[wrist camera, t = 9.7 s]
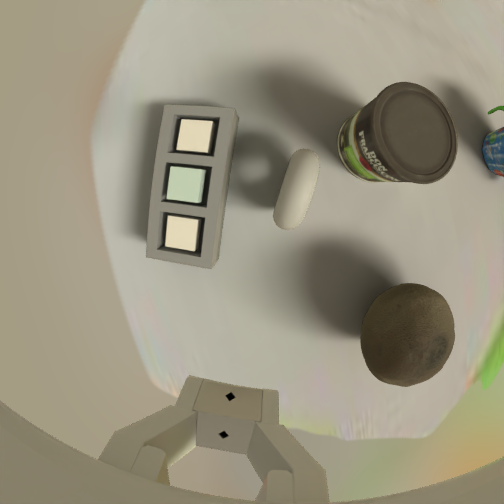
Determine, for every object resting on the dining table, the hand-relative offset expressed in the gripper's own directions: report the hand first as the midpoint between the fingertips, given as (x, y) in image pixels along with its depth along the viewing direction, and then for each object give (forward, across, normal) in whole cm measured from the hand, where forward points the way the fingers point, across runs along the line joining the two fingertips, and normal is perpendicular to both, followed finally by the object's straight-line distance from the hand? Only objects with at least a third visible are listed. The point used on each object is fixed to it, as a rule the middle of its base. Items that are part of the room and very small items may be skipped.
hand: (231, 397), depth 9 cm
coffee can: (+31, -13, -15) cm, 37 cm away
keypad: (+31, +10, -6) cm, 33 cm away
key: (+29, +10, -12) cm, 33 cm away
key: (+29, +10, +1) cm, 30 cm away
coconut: (+31, -22, +8) cm, 39 cm away
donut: (+31, -3, -7) cm, 32 cm away
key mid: (+27, +10, -6) cm, 30 cm away
